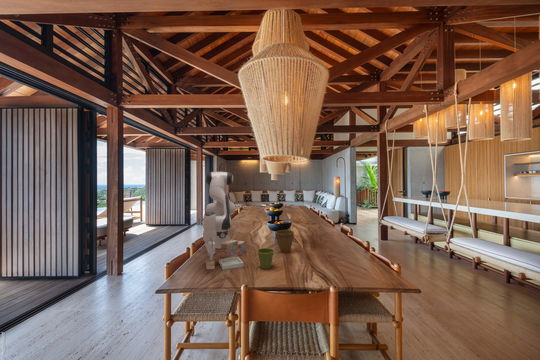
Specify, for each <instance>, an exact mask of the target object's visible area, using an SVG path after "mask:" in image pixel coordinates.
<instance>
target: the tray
mask: <svg viewBox="0 0 540 360" xmlns="http://www.w3.org/2000/svg"><path fill="white" fill-rule="evenodd" d="M218 264H220V265H219V266H220V269H221V270H222V271H228V270H234V269H240V268H244V267H245V265H244V264H245V263H244V262H243V260H242V259H241V258H240V257H239V256H237V257H232V258H225V259H221V258H220V259H218Z"/></svg>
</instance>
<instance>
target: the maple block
mask: <svg viewBox="0 0 540 360" xmlns="http://www.w3.org/2000/svg"><path fill="white" fill-rule="evenodd" d="M205 269H206V270H207V271H208V270H209V269H210V270H215V260H214V259H213V260H210V259H205Z"/></svg>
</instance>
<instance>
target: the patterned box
mask: <svg viewBox="0 0 540 360" xmlns="http://www.w3.org/2000/svg"><path fill="white" fill-rule="evenodd" d="M244 254H246V241H243V240H236V239H230V241H227V242H224V243H221V249H220V257H221V258H220V259H225V258H232V257H239V256H241V255H244Z"/></svg>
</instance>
